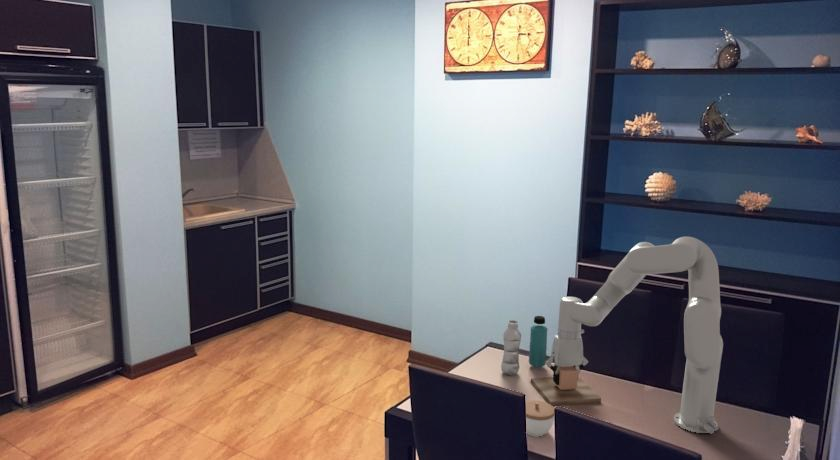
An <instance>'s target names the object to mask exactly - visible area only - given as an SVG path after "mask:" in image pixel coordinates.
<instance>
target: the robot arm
mask: <svg viewBox="0 0 840 460" xmlns="http://www.w3.org/2000/svg"><path fill="white" fill-rule="evenodd" d="M685 271H688V279H687V280H688V281H687V282H688V301H687V305H686V308H685V309H684V313H683V316H684V317H683V336H684V337H683V340H684V341H683V342H684V355H685V357H686V362H685V368H684V369H685V370H684V377H683V384H682V393H681V401H680V409H679V412H676V413H675V414H674V417H673V421H674V423H675V424H676V425H677V426H678V427H679V426H680V428H681V429H683V430H685V429H686V431H687V430H688V432H690V431H691V433H694V432H696V433H695V434H699V433H710V435H712V434H715V432H714V431H716V430H717V431H718V430H719V428H720V427H719V425H718V423H717V421H716V417H715V416H714V414H715V407H716V400H717V399H716V398H717V392H718V383H719V378H720V370H721V362H722V356H723V348H724V341H723V338H722V335H721V329H720V326H721V325H720V324H721V323H720V322H721V321H720V320H721V316H722V306H721V293H720V292H721V287H720V273H719V272H720V271H719V265H718V261H717V258H716V255H715V253H714V252H713V250H712V249H711V248H710V247H709V245H707V244H706V243H705V242H704V241H702V240H700V239H698V238H696V237H693V236H681V237H678V238H676V239H675V240H674V241H672V243H669V244H661V245H654V244H653V243H651V242H648V241H640V242H638V243H637V244H635V245H634V246H633V247H632V248H631V249H630V250H629V251H628V253H627V254H626V255H625V256H624V257H623V259H622V260H621V261H619V263H618V264H617V265H616V267H614V269H612V271H611V272H610V273H609V275H608V277H607V279H606V280H605V282H604V283H603V285H602V286H601V287H599V289H598V290H597V291H596V293H595V294H594V295H593V296H592V297H591V298H590V299H589V300H588V301H587V302H585V303H584V302H583V301H582V299H581V298H578V297H576V296H564V297H562V298H561V299H560V301H559V309H558V310H559V311H558V326H557V334H556V335H554V338H553V341H552V346H551V353H550V356H549V358H548V359H546V362H545V366H547V367H548V368H550V370H551V371H552V372H553V375H552V377H553V381H554V382H555V383H556V384H557V385H559V376H560V374H559V371H560V369H561V366H574V367H575V368H576V369H577V370H578V374H580V373H581V370H583V368H584V367H585V366H586V365H587V364H588V363H589V360H588V359H587V358H586V357H585V356H584V345H583V338H582V334H585V329H584V328H583V329H582V325H585V326H588V327H597V326H599V325H600V324H601V323H602V322H603V320H605V318H606V317H607V316H608V315H609V314H610V312H611V311H612V310H613V309H614V307H616V306H617V305H618V304H619V303H620V301H621V300H622V299H623V298H625V296H627V295H629V294H630V293H631V292H632V291H633V290H634V289H635V288H636V287H637V286H638V285H639V283H640V282H642V280H643V279H644V278H645V277H647V275H659V274H668V273H669V274H670V273H679V272H685ZM553 362H554V364H552V363H553ZM717 431H716V432H717Z"/></svg>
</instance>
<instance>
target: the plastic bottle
mask: <svg viewBox="0 0 840 460" xmlns="http://www.w3.org/2000/svg"><path fill="white" fill-rule="evenodd" d="M506 327H507V328H506V330H504V332H503V334H502V336H503V337H502V338H503V339H502V340H503V356H502V361H501V365H500V367H501V372H502V373H503V374H504V375H507V376H514V375H515V376H516V375H518V373H519V371H520V362H519V361H520V360H519V352H520V351H519V350H520V346H521V345H520V344H521V341H522V333H521V332H520V330H519V329H518V328H519V322H518V321H517V320H512V319H511V320H508V321H507V326H506Z"/></svg>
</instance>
